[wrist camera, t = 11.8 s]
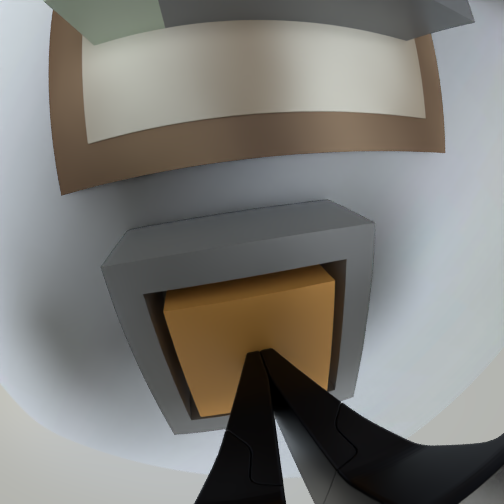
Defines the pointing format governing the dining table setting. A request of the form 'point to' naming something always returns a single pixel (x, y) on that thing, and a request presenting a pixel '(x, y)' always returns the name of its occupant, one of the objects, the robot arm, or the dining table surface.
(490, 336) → the dining table surface
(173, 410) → the button housing
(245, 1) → the grey green block
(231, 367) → the button
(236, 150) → the board
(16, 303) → the dining table surface
